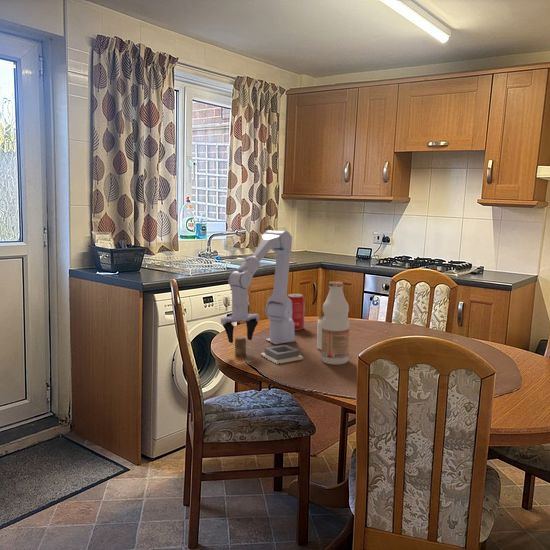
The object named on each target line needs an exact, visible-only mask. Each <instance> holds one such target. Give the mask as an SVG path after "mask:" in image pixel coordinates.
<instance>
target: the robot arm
mask: <svg viewBox="0 0 550 550" xmlns="http://www.w3.org/2000/svg"><path fill="white" fill-rule="evenodd" d="M292 243H293V236H292V235H291V233H290V231H288V230H270V229H267V230H265V232H264V233H263V234H262V236H261V242H260V243H259V245H258V247H257V248H256V249H255V251H254V252H253V254H252V255H250V256H247V257H245V258H244V261H242V263H241V265H240V266H239V267H238V268H237V269H236V270H235V271H233V272H231V273H230V274H229V277H228V279H227V281H228V282H227V283H228V285H229V287H230V291H231V313H232V314H231V315H229V316H225V317H220V324H222V326H223V328H224V330H225V333H226V335H227V340H228V342H229V343H230V344H233V343H234V330H235V325H234V324H233V323H239V322H246V332H247V333H246V335H247V336H246V337H247V338H246V340H248V341H252V339H253V336H254V332H255V329H256V328H257V326H258V323H259V322H258V320H260V314H258V313H249V295H248V294H249V291H248V290H249V289H248V288H249V287H250V286H251V284H252V279H253V278H254V277H253V276H254V275H255V273H256V272H257V271H258V269H259V268H260V266H261V263H260V262H261V261H262V260H263V258H264V257H265V256H266V255H267V254H268V253H269V252H270V251H272V252H274V254H275V255H276V257H275V258H276V259H275V266H274V267H275V270H274V281H273V289H272V294H271V295H270V296H269V297H268V298H267V301H266V302H267V303H266V305H265V309H264V310H265V315H266V317H267V319H269V337H267V338H265V341H267V342H269V341H270V342H269V343H271V344H274V345H280V344H285V343H286V344H287V343H292V342H296V339H295V330H294V322H293V320H292V319H291V318H290V317H291V315H292V301H291V300H290V299H289V298H288V294H287V292H288V283H289V282H288V281H289V273H290V261H291V252H292V245H293V244H292Z"/></svg>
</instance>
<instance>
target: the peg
mask: <svg viewBox="0 0 550 550" xmlns="http://www.w3.org/2000/svg"><path fill="white" fill-rule="evenodd" d="M234 354H235V356H237V357H243V355H244V356H246V355H247V338H246V337H244V336H238V337H235V338H234ZM245 354H246V355H245Z"/></svg>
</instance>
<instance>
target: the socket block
mask: <svg viewBox="0 0 550 550" xmlns="http://www.w3.org/2000/svg"><path fill="white" fill-rule="evenodd" d="M261 355H262V356H263V357H262V356H261ZM260 356H261V357H262V358H264V357H265V359H266V358H267V359H266V360H268V361H269V362H271V361H272V362H271V363H273V362H274V363H273V364H275V363H276V364H275V365H279V363H280V364H284V363H289V362H296V361H300V360H304V356H303V355H301V354H300V350H298V349H297V348H294V347H293V346H290V345H288V344H283V345H280V344H279V345H275V346H270V347H264V352H261V353H260Z"/></svg>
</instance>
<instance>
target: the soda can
mask: <svg viewBox="0 0 550 550" xmlns="http://www.w3.org/2000/svg"><path fill="white" fill-rule="evenodd" d="M287 297H288V298H289V299H290V300H291V301H292V315H291V317H290V318H291V319H292V320H293V322H294V332H295V331H296V332H297V331H301V330H303V329H304V328H305V308H306V307H305V304H306V303H305V302H306V301H305V297H304V294H301V293H289V294H287Z"/></svg>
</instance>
